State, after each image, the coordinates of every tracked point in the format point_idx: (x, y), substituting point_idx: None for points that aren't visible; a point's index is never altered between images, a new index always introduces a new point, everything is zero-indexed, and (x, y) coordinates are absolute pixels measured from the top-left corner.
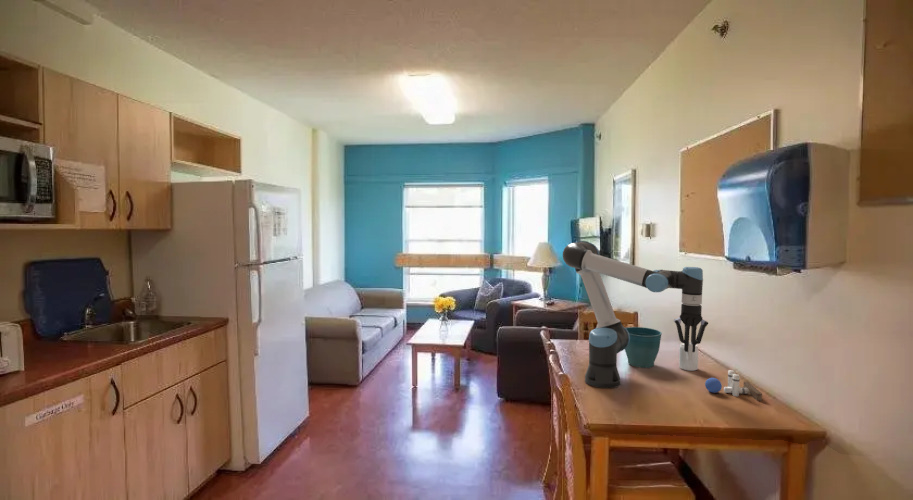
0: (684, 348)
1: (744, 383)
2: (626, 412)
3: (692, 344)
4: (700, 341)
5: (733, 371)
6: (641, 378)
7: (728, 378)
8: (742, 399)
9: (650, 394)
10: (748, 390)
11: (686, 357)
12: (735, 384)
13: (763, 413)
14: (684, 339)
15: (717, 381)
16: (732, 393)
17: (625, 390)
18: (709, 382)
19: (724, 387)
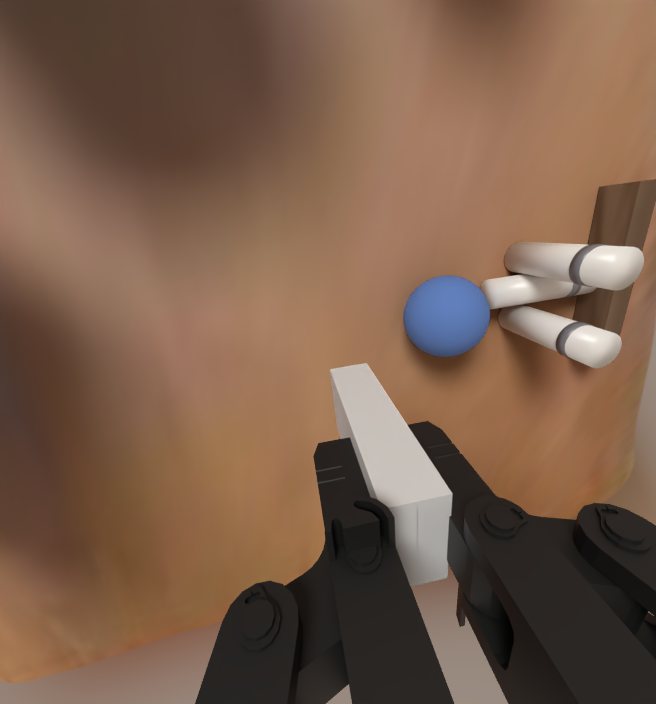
0: (317, 481)
1: (627, 197)
2: (94, 608)
3: (455, 567)
4: (641, 632)
5: (630, 275)
6: (30, 186)
7: (557, 269)
8: (517, 355)
9: (143, 437)
10: (588, 292)
11: (331, 373)
12: (547, 347)
13: (523, 458)
14: (341, 642)
15: (472, 346)
16: (503, 321)
17: (12, 432)
18: (428, 349)
19: (494, 291)
